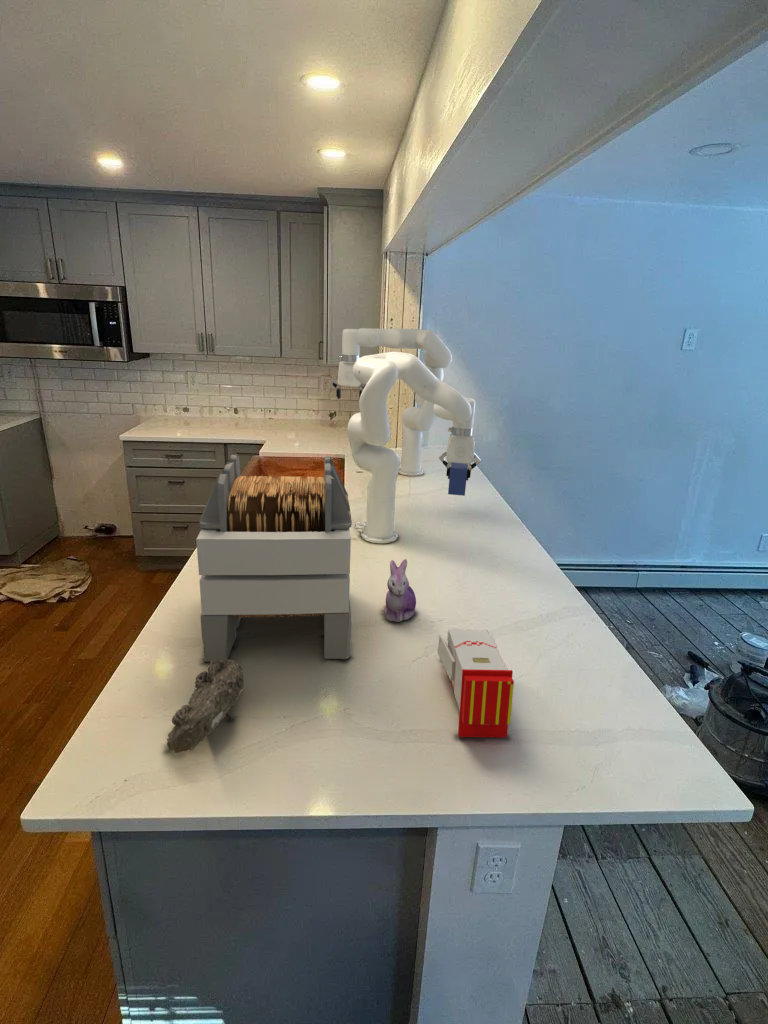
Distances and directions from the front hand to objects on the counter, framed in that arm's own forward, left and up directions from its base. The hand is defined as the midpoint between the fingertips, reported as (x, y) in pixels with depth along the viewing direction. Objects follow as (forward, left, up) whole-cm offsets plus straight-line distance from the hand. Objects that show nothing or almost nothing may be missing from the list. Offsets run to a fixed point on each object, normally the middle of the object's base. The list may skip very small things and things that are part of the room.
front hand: (458, 478), depth 214 cm
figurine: (0, -80, -15) cm, 81 cm away
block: (0, 0, -5) cm, 5 cm away
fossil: (-24, -130, -15) cm, 133 cm away
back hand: (-55, +30, +21) cm, 66 cm away
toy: (+22, -105, -15) cm, 108 cm away
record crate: (-27, -94, -15) cm, 99 cm away
